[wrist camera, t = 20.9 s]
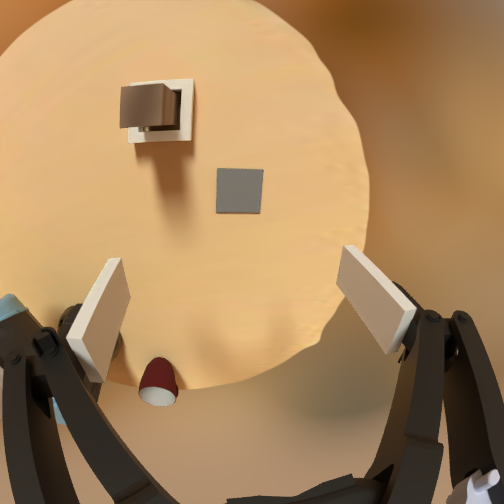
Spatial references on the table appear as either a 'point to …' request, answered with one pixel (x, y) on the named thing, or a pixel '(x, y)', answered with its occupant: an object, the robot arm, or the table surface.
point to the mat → (239, 190)
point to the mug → (158, 383)
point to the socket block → (185, 118)
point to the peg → (148, 106)
